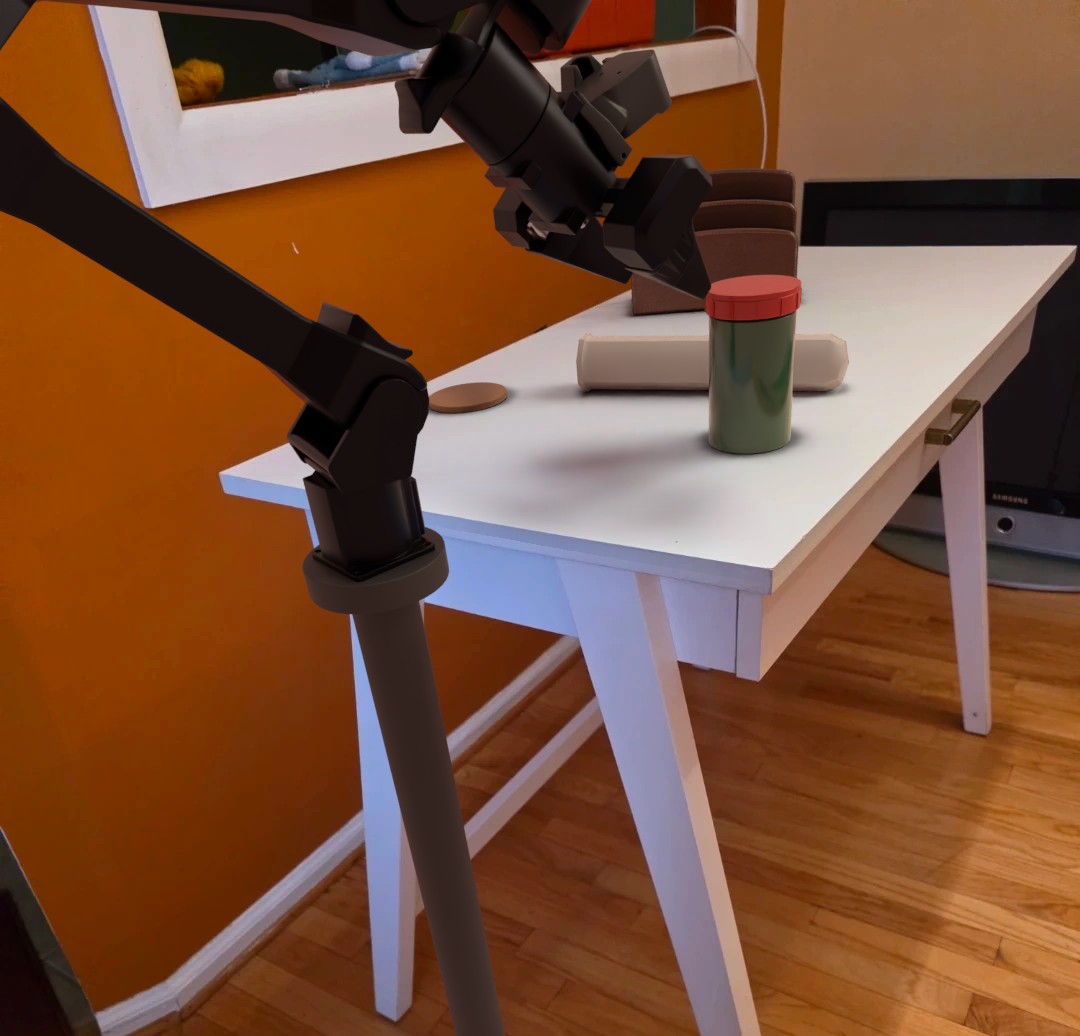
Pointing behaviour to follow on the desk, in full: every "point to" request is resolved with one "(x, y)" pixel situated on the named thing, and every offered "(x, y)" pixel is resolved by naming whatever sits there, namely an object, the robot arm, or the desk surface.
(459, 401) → the disc
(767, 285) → the lid
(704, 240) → the letter holder
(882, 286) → the desk surface
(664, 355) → the tube
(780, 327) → the jar
